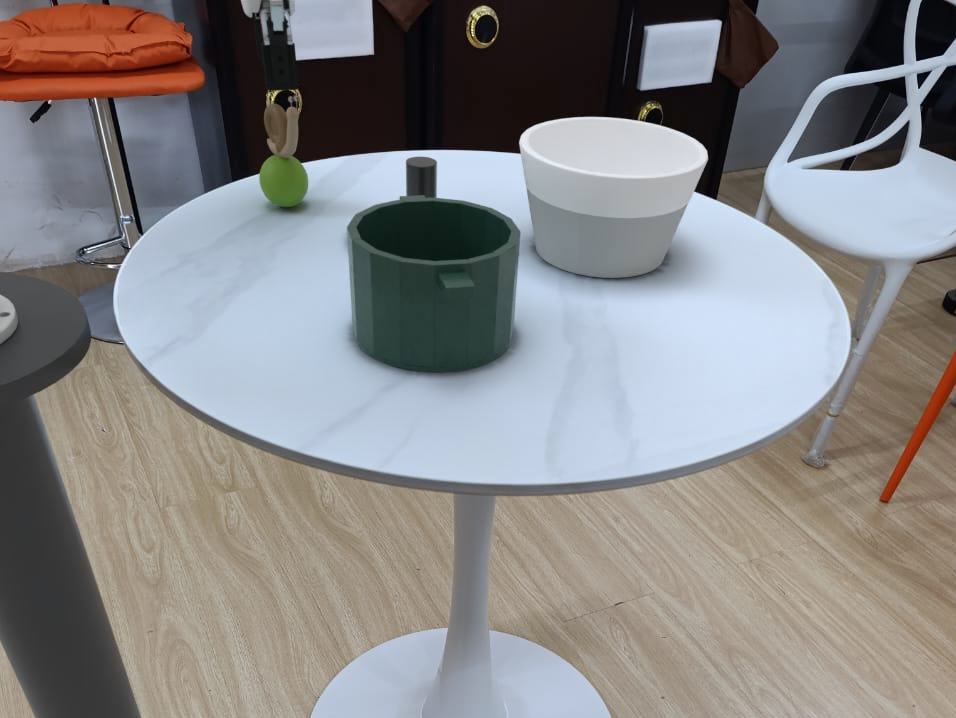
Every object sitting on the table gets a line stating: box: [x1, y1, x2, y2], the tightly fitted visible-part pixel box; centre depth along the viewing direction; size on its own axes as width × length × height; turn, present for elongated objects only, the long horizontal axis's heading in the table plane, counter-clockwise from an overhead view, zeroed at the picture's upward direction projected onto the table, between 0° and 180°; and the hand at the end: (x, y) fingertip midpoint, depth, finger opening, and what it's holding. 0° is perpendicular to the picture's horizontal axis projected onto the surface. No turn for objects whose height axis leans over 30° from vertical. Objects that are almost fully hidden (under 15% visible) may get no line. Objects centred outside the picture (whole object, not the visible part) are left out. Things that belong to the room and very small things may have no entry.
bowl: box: [518, 116, 709, 279], centre depth 97 cm, size 19×19×11 cm
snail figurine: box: [258, 94, 309, 208], centre depth 101 cm, size 5×6×12 cm
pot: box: [346, 195, 522, 373], centre depth 82 cm, size 15×20×10 cm
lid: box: [405, 156, 438, 198], centre depth 97 cm, size 16×16×8 cm
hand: (278, 75), depth 97 cm, fingers open, 9 cm apart
